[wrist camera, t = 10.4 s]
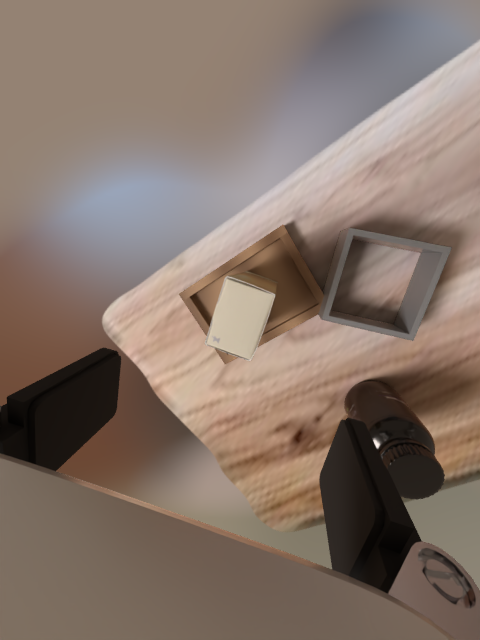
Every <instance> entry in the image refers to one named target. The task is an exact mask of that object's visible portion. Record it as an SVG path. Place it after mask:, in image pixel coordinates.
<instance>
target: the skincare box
mask: <svg viewBox="0 0 480 640" xmlns="http://www.w3.org/2000/svg"><path fill="white" fill-rule="evenodd" d="M276 288H277V282H275V281H273V280H270V279H268V278H265V277H262V276H260V275H257V274H254V273H251V272H248V271H246V272H242V273H238V274H234V275H229V276H226V277H225V279H224V283H223V286H222V289H221V292H220V295H219V298H218V302H217V304H216V308H215V311H214V314H213V318H212V321H211V324H210V328H209V331H208V334H207V338H206V341H205V345H207V346H210V347H212V348H215V349H218V350H220V351H222V352H225V353H228V354H230V355H233V356H236V357H239V358H242V359H245V360H248V361H251V360H252V358H253V356H254V354H255V351H256V349H257V347H258V344H259V342H260V339H261V337H262V334H263V331H264V328H265V326H266V323H267V320H268V317H269V314H270V311H271V308H272V305H273V302H274V299H275V295H276Z"/></svg>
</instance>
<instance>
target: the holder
mask: <svg viewBox="0 0 480 640" xmlns="http://www.w3.org/2000/svg"><path fill="white" fill-rule="evenodd" d="M352 239H353V240H358V241H363V242H368V243H373V244H378V245H383V246H388V247H393V248H398V249H403V250H408V251H413V252H419V253H421V254H420V257H419V260H418V262H417V265H416V267H415V270H414V273H413V275H412V278H411V280H410V283H409V286H408V288H407V291H406V293H405V296H404V299H403V301H402V304H401V306H400V309H399V312H398V314H397V317H396V320H395V322H394V324H389V323H385V322H380V321H376V320H372V319H367V318H363V317H358V316H354V315H350V314H345V313H341V312H336V311H332V310H331V307H332V304H333V300H334V297H335V294H336V291H337V287H338V284H339V281H340V278H341V274H342V271H343V268H344V265H345V261H346V258H347V255H348V252H349V248H350V245H351V242H352ZM451 249H452V247H447V246H442V245H437V244H431V243H426V242H421V241H416V240H411V239H405V238H400V237H395V236H390V235H385V234H380V233H374V232H369V231H364V230H359V229H354V228H347V229H345V230H343V231H340V235H339V238H338V241H337V245H336V248H335V252H334V255H333V259H332V262H331V265H330V269H329V272H328V276H327V279H326V282H325V286H324V289H323V294H324V297H323V301H322V304H321V307H320V311H319V314H318V315H319V316H320V318H321V319H322V320H325V321H329V322H334V323H338V324H342V325H347V326H351V327H355V328H360V329H364V330H368V331H373V332H377V333H381V334H386V335H390V336H394V337H399V338H403V339H407V340H412V341H413V340H414V338H415V336H416V333H417V331H418V328H419V326H420V323H421V321H422V319H423V316H424V314H425V311H426V309H427V307H428V304H429V302H430V299H431V297H432V294H433V292H434V290H435V287H436V285H437V282H438V280H439V278H440V275H441V273H442V270H443V268H444V265H445V263H446V261H447V258H448V256H449V253H450V251H451Z"/></svg>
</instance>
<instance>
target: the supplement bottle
mask: <svg viewBox="0 0 480 640" xmlns="http://www.w3.org/2000/svg"><path fill="white" fill-rule="evenodd" d="M345 411H346V414H347V417H349V418H352V419H356V420H359V421H363V422H364V423H365V424H366V426H367V429H368V431H369V433H370V435H371V437H372V439H373V441H374V443H375V446H376V448H377V450H378V452H379V454H380V456H381V458H382V461H383V463H384V465H385V466H386V468H387V470H388V471H389V473H390V476H391V478H392V480H393V482H394V484H395V486H396V488H397V490H398V492H399V495H400V496H401V497H404V498H409V499H423V498H425V497H429V496H431V495H434V494H435V493H436V492H438V490H439V489H441V486H442V485H443V482H444V480H445V479H444V476H445V475H444V471H443V469H442V467H441V465H440V463H439V462H438V461H437V459H436V458H435V456H434V454H435V444H434V440H433V438H432V436H431V434H430V432H429V431H428V430H427V428H426V427H425V426H424V425H423V423H422V422H421V421H420V420H419V419H418V417H417V416H416V415H415V414H414V412H413V411H412V410H411V409H410V408H409V406H408V405H407V404H406V403H405V401H404V400H403V399H402V398H401V397H400V395H399V394H398V393H397V392H396V391H395V390H394V389H393V388H392V387H391V386H389V385H387V384H385V383H382V382H379V381H366V382H362V383H359V384H357V385H356V386H354V387H353V388H352V389H351V390H350V391H349V392H348V394H347V396H346V398H345Z"/></svg>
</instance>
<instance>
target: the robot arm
mask: <svg viewBox="0 0 480 640" xmlns="http://www.w3.org/2000/svg"><path fill="white" fill-rule="evenodd" d="M120 365H121V356H119V355H118V352H117V351H114V350H111V349H107V348H102V349H99V350H97V351H95V352H93V353H91V354H89V355H88V356H86V357H84V358H82V359H80V360H78V361H76V362H74V363H72V364H70V365H68V366H66V367H64V368H62V369H60V370H58V371H56V372H54V373H53V374H50V375H49V376H47V377H45V378H43V379H41V380H39V381H37V382H35V383H33V384H31V385H29V386H27V387H25V388H23V389H21V390H19V391H17V392H15V393H13V394H12V395H10V396H8V397H7V404H5V405H3V406H0V640H480V590H479V588H478V587H477V585H476V584H475V582H474V581H473V579H472V577H471V576H470V575H469V574H468V573H467V572H466V570H465V569H464V568H463V567H462V566H461V565H460V564H459V563H458V562H457V561H456V560H455V559H454V558H453V557H452V556H450V555H449V554H448V553H446V552H445V551H443V550H442V549H440V548H439V547H437V546H435V545H433V544H430V543H426V542H423V541H421V539H420V537H419V535H418V533H417V530H416V528H415V526H414V524H413V522H412V520H411V518H410V516H409V514H408V512H407V509H406V507H405V505H404V503H403V501H402V499H401V497H400V495H399V492H398V490H397V488H396V486H395V484H394V482H393V480H392V478H391V476H390V473H389V471H388V470H387V468H386V466H385V465H384V463H383V461H382V458H381V456H380V454H379V452H378V450H377V448H376V446H375V443H374V441H373V439H372V437H371V435H370V433H369V431H368V429H367V426H366V424H365V423H364V422H363V421H359V420H356V419H352V418H349V417H348V418H347V419H346V420H341V422H340V424H339V427H338V429H337V432H336V434H335V437H334V439H333V442H332V445H331V447H330V450H329V452H328V455H327V458H326V460H325V463H324V465H323V468H322V470H321V473H320V489H321V496H322V503H323V509H324V516H325V523H326V529H327V536H328V543H329V550H330V556H331V563H332V569H329V568H326V567H323V566H321V565H318V564H316V563H313V562H310V561H308V560H305V559H303V558H300V557H297V556H295V555H292V554H289V553H287V552H284V551H281V550H278V549H275V548H273V547H269V546H267V545H264V544H261V543H259V542H256V541H253V540H250V539H248V538H244V537H242V536H239V535H236V534H234V533H231V532H228V531H225V530H222V529H220V528H217V527H214V526H211V525H208V524H206V523H203V522H200V521H197V520H194V519H191V518H188V517H186V516H183V515H180V514H177V513H174V512H171V511H169V510H166V509H163V508H160V507H157V506H154V505H152V504H149V503H145V502H143V501H140V500H137V499H134V498H132V497H128V496H126V495H123V494H120V493H117V492H114V491H111V490H108V489H106V488H103V487H100V486H97V485H94V484H91V483H88V482H85V481H82V480H79V479H76V478H74V477H71V476H68V475H65V474H62V473H59V472H56V470H57V469H59V468H60V467H61V466H62V465H63V464H64V463H65V462H66V461H67V460H68V459H69V458H70V457H71V456H72V455H73V454H74V453H76V452H77V450H79V449H80V448H81V447H82V446H83V445H84V444H85V443H86V442H87V441H88V440H89V439H90V438H91V437H92V436H93V435H95V434H96V433H97V432H98V431H99V430H100V429H101V428H102V427H103V426H104V425H105V424H106V423H107V422H108V421H109V420H110V419H111V418H112V417H113V416H114V415H115V413H116V409H117V400H118V389H119V376H120Z"/></svg>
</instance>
